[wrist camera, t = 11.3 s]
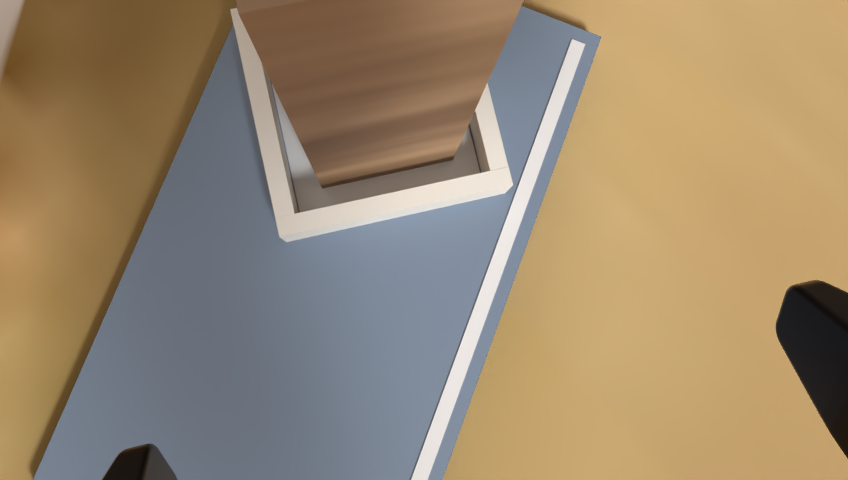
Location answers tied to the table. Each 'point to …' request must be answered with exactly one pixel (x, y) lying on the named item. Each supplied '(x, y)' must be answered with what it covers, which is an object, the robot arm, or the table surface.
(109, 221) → the table surface
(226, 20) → the table surface
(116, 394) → the blueprint board
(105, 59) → the table surface
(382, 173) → the pillar
